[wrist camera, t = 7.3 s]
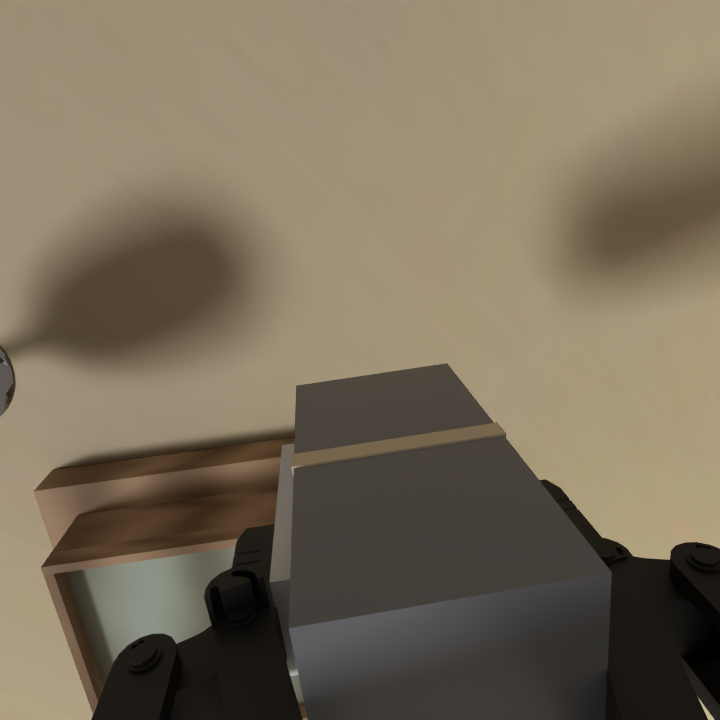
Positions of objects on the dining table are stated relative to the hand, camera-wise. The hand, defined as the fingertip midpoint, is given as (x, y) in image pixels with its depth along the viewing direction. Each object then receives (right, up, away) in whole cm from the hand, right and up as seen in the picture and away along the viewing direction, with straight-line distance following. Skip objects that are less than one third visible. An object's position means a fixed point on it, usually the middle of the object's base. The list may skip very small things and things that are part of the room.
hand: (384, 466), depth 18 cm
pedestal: (-11, -11, +19) cm, 24 cm away
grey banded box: (0, 0, 0) cm, 0 cm away
